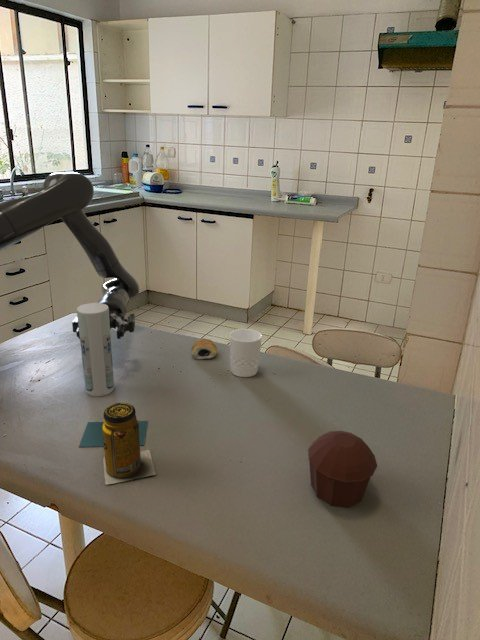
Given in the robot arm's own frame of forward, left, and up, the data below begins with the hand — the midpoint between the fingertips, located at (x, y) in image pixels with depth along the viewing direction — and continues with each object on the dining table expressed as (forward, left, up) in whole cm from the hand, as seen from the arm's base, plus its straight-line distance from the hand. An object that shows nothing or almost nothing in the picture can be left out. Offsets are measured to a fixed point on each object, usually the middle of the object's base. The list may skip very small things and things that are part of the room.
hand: (99, 335), depth 105 cm
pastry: (+24, +14, -12) cm, 30 cm away
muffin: (+46, -38, -12) cm, 61 cm away
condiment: (+10, -31, -12) cm, 35 cm away
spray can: (0, -4, -12) cm, 13 cm away
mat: (+6, -21, -12) cm, 25 cm away
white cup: (+34, +4, -12) cm, 36 cm away
